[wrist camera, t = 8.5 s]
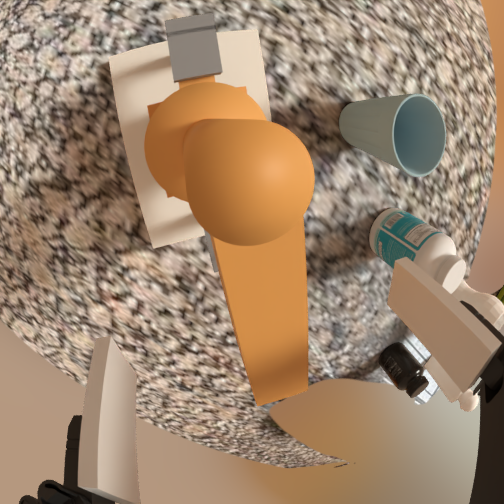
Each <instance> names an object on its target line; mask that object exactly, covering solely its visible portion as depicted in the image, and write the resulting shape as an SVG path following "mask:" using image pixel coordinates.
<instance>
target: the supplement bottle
mask: <svg viewBox="0 0 504 504" xmlns="http://www.w3.org/2000/svg"><path fill="white" fill-rule="evenodd" d="M379 364H380V366H381V367H382V368H383V370H384V371H385V372H386V374H387V375H388V376H389V378H390V379H391V380H392V382H393V383H394V384H395V386H396V387H397V388H398V389H399V390H406V393H407V394H408V395H409V396H410V397H411V398H413V397H416V396H417V395H419V394H420V393H421V392H422V391H423V390H424V389H425V388H426V387H427V386H428V384H429V382H428V380H427V379H426V377H425V376H422V375H423V372H424V370H423V367H422V365H421V364H420V363H419V362H418V361H417V359H416V358H415V357H414V356H413V355H412V354H411V352H410V351H409V350H408V349H407V348H406V347H405V346H404V345H403V344H402V343H400V342H397V343H394V344H392V345H391V346H389V347H388V348H387V349H386V350H385V351H384V352H383V353H382V354H381V356H380V358H379Z"/></svg>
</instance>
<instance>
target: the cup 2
mask: <svg viewBox="0 0 504 504" xmlns="http://www.w3.org/2000/svg"><path fill="white" fill-rule="evenodd" d="M451 295H453V296H454V297H455V298H456V299H457V300H458V301H459V302H460V301H461V300H462V301H464V302H466V303H468V304H470V305H472V306H473V307H474V308H475V309H476V310H477V311H478V312H479V314H481V315H483V316H484V319H487V320H488V321H489V322H490V323H491V324H492V325H493V326H494V327H495V328H496V329H497V330H498V331H499V330H500V329H501V327H502V326H503V324H504V305H503V304H502V302H501V301H500V300H499V299H498V298H496V297H495V296H493V295H490V294H487V293H481V292H477V291H475V290H474V289H472V288H470V287H469V286H468V285H467V283H466V282H465V281H464V280H463V279H462V281H461V283H460V284H459V286H458V287H457V289H456V290H455V291H454V292H453V293H451Z"/></svg>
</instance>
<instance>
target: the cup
mask: <svg viewBox="0 0 504 504" xmlns="http://www.w3.org/2000/svg"><path fill="white" fill-rule="evenodd" d="M339 129H340V132H341V134H342V136H343V138H344V139H345V140H346V141H347V142H348V143H349V144H350V145H352V146H354V147H356V148H358V149H361V150H363V151H365V152H367V153H369V154H371V155H373V156H375V157H377V158H379V159H381V160H383V161H385V162H387V163H389V164H391V165H393V166H394V167H396V168H398V169H400V170H402V171H403V172H405V173H407V174H409V175H411V176H414V177H423V176H426V175H428V174H430V173H431V172H432V171H433V170H434V169H435V168H436V167H437V166H438V164H439V162H440V161H441V158H442V156H443V153H444V150H445V144H446V128H445V122H444V119H443V116H442V114H441V111H440V110H439V108H438V106H437V105H436V104H435V102H434V101H433V100H431V99H430V98H429V97H427V96H425V95H422V94H407V95H399V96H390V97H383V98H375V99H368V100H362V101H356V102H353V103H350V104H348V105H347V106H346V107H345V108H344V109H343V110H342V112H341V114H340V118H339Z"/></svg>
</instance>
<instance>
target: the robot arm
mask: <svg viewBox="0 0 504 504" xmlns="http://www.w3.org/2000/svg"><path fill="white" fill-rule="evenodd" d="M387 305H388V306H389V307H390V308H391V309H392V310H393V311H394V312H395V313H396V314H397V316H398V317H399V318H400V319H401V320H402V321H403V322H404V323H405V324H406V326H407V327H408V328H409V329H410V330H411V331H412V332H413V333H414V335H415V336H416V337H417V338H418V339H419V340H420V342H421V343H422V344H423V345H424V346H425V347H426V349H427V350H428V351H429V352H430V353H431V354H432V356H433V357H434V358H435V359H436V360H437V362H438V363H439V364H440V365H441V366H442V368H443V369H444V370H445V371H446V373H447V374H448V375H449V376H450V378H451V379H452V380H453V381H454V383H455V384H456V385H457V386H458V388H459V389H460V390H461V391H462V393H465V392H466V391H467V390H468V389H469V388H471V387H472V386H473V385H474V384H475V382H476V381H477V380H478V378H479V377H481V379H482V380H481V381H480V383H479V384H478V385H477V387H476V388H475V390H474V391H473V395H475V394H476V393H477V392H478V391H479V389H480V391H479V392H478V394H477V395H479V396H480V434H479V448H478V457H477V464H476V472H475V478H474V483H473V489H472V494H471V498H470V503H469V504H504V336H503V335H502V334H501V333H500V332H499V331H498V330H497V329H496V328H495V327H494V326H493V325H492V324H491V323H490V322H489V321H488V320H487V319H484V316H483V315H481V314H479V312H478V311H477V310H476V309H475V308H474V307H473V306H472V305H470V304H468V303H466V302H464V301H462V300H461V301H460V302H459V301H458V300H457V299H456V298H455V297H454V296H453V295H451V294H450V293H449V292H448V291H447V290H446V289H445V288H444V287H442V286H441V285H440V284H439V283H438V282H437V281H435V280H434V279H433V278H432V277H431V276H430V275H428V274H427V273H426V272H425V271H424V270H422V269H421V268H420V267H419V266H417V265H416V264H415V263H414V262H413V261H411V260H410V259H409V258H408V257H404V258H401V259H398V260H395V264H394V270H393V276H392V282H391V287H390V292H389V297H388V302H387ZM136 382H137V374H136V373H135V371H134V370H133V369H132V367H131V366H130V364H129V363H128V361H127V360H126V358H125V357H124V355H123V354H122V352H121V351H120V349H119V348H118V346H117V345H116V343H115V341H114V340H113V338H112V337H111V336H108V337H102V338H97V339H96V342H95V346H94V351H93V355H92V360H91V365H90V370H89V376H88V381H87V387H86V393H85V401H84V407H83V415H80V416H78V415H76V416H73V418H72V420H71V422H70V424H69V426H68V435H67V439H68V441H67V444H66V448H67V450H66V455H65V469H64V484H63V485H61V484H59V483H57V482H55V481H54V480H46V481H44V482H42V484H40V486H39V488H38V499H36V498H34V497H32V496H30V495H25V496H23V497H22V498H21V499H20V501H19V504H115V502H116V503H119V504H141V502H140V493H139V483H138V470H137V453H136Z"/></svg>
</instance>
